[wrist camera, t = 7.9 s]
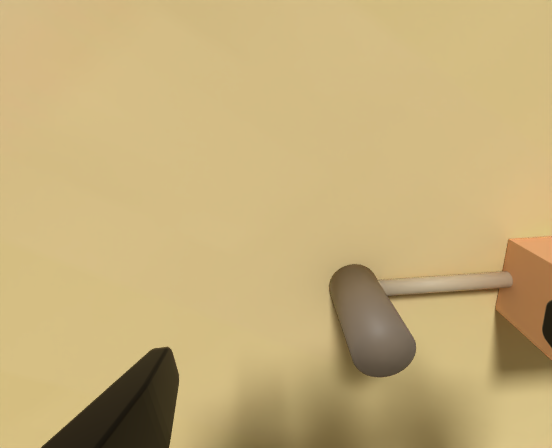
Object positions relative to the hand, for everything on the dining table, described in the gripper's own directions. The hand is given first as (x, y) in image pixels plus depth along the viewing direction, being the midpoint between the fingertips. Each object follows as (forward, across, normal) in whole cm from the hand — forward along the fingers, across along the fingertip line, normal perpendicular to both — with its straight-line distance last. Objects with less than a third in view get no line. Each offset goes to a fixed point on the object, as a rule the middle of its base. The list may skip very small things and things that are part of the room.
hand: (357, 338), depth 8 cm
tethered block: (+12, -9, +6) cm, 16 cm away
